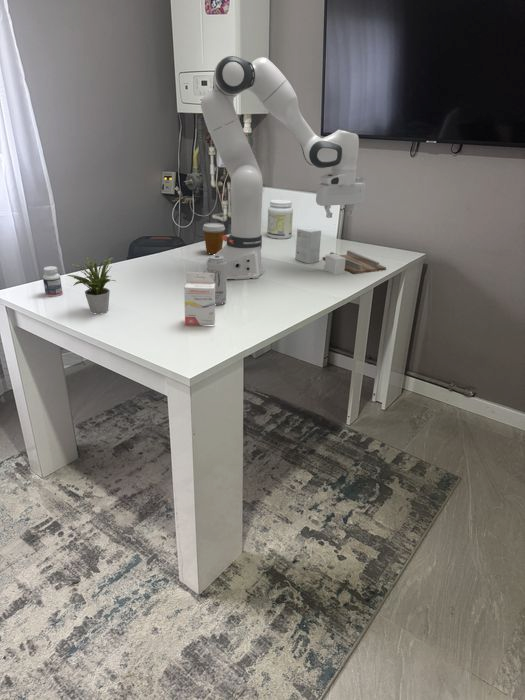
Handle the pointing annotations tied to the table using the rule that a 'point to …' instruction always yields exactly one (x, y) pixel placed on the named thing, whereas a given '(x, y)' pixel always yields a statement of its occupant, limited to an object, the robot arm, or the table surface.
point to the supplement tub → (280, 219)
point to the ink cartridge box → (199, 299)
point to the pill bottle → (52, 282)
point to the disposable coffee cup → (213, 237)
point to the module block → (335, 264)
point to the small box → (308, 245)
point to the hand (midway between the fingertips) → (339, 216)
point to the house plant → (96, 286)
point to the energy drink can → (218, 276)
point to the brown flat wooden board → (359, 263)
